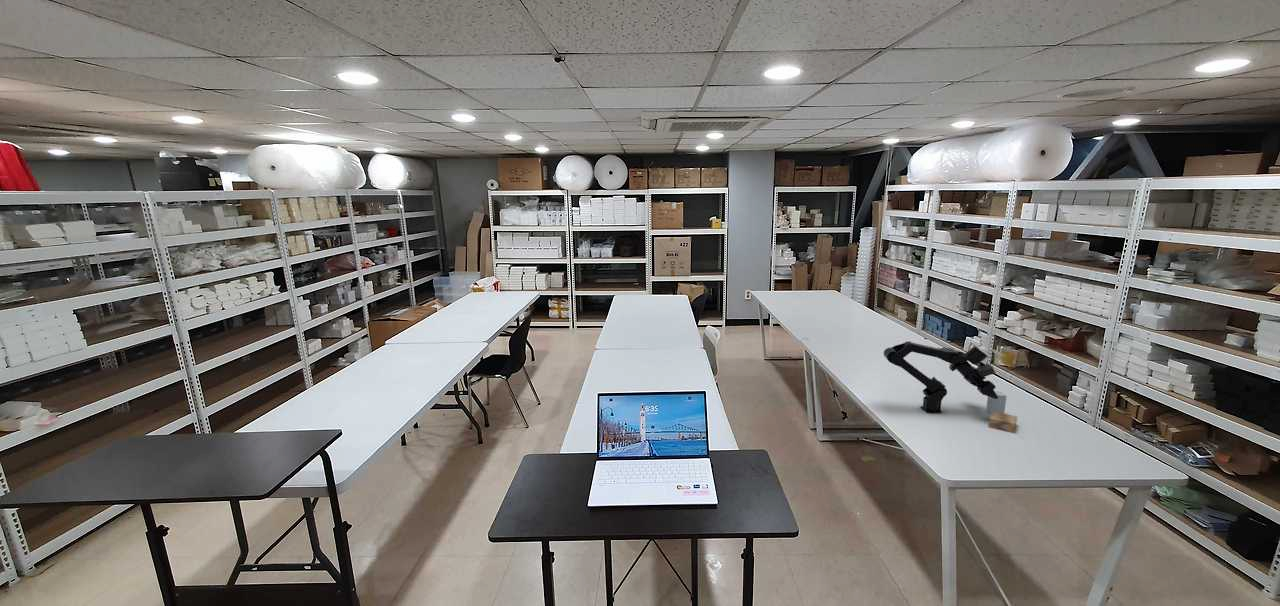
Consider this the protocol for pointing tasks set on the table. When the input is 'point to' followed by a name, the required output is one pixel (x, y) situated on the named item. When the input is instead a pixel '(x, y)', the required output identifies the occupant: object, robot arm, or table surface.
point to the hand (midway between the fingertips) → (992, 394)
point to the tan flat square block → (1002, 421)
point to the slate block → (996, 403)
